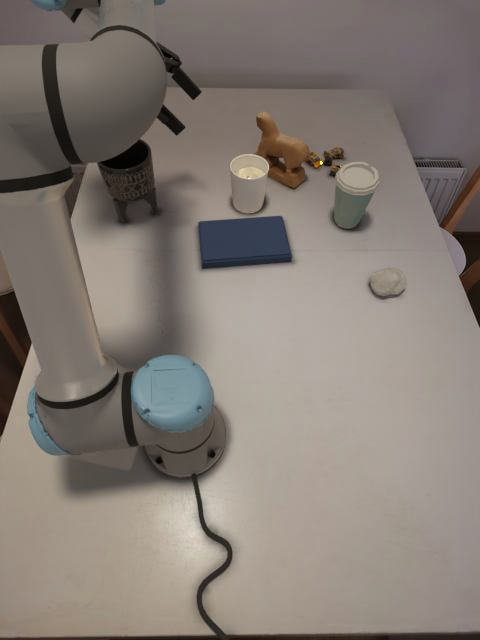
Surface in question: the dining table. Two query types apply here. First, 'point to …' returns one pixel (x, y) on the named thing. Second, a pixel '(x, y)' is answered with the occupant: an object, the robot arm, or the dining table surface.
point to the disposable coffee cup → (353, 192)
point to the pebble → (388, 281)
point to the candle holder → (248, 182)
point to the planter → (130, 178)
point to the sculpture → (281, 152)
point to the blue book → (243, 242)
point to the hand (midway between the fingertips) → (189, 113)
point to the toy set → (327, 159)
